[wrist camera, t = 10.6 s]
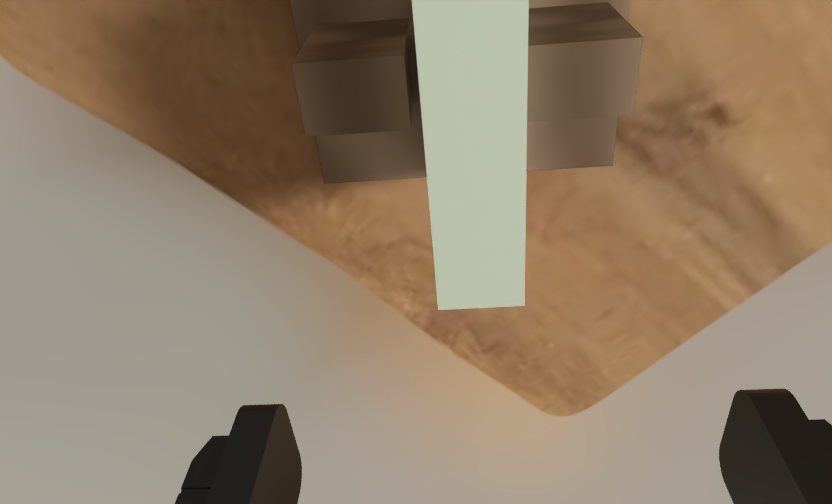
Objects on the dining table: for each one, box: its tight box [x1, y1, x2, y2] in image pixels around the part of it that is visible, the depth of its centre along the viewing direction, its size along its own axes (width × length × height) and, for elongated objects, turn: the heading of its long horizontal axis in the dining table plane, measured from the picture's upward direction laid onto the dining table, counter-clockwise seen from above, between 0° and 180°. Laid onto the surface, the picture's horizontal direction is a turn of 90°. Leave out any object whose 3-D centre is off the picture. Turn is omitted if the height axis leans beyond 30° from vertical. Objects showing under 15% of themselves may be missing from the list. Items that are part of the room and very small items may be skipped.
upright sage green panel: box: [412, 0, 529, 310], centre depth 25 cm, size 3×12×13 cm, turn 5°
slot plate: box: [290, 0, 643, 184], centre depth 29 cm, size 16×14×7 cm
